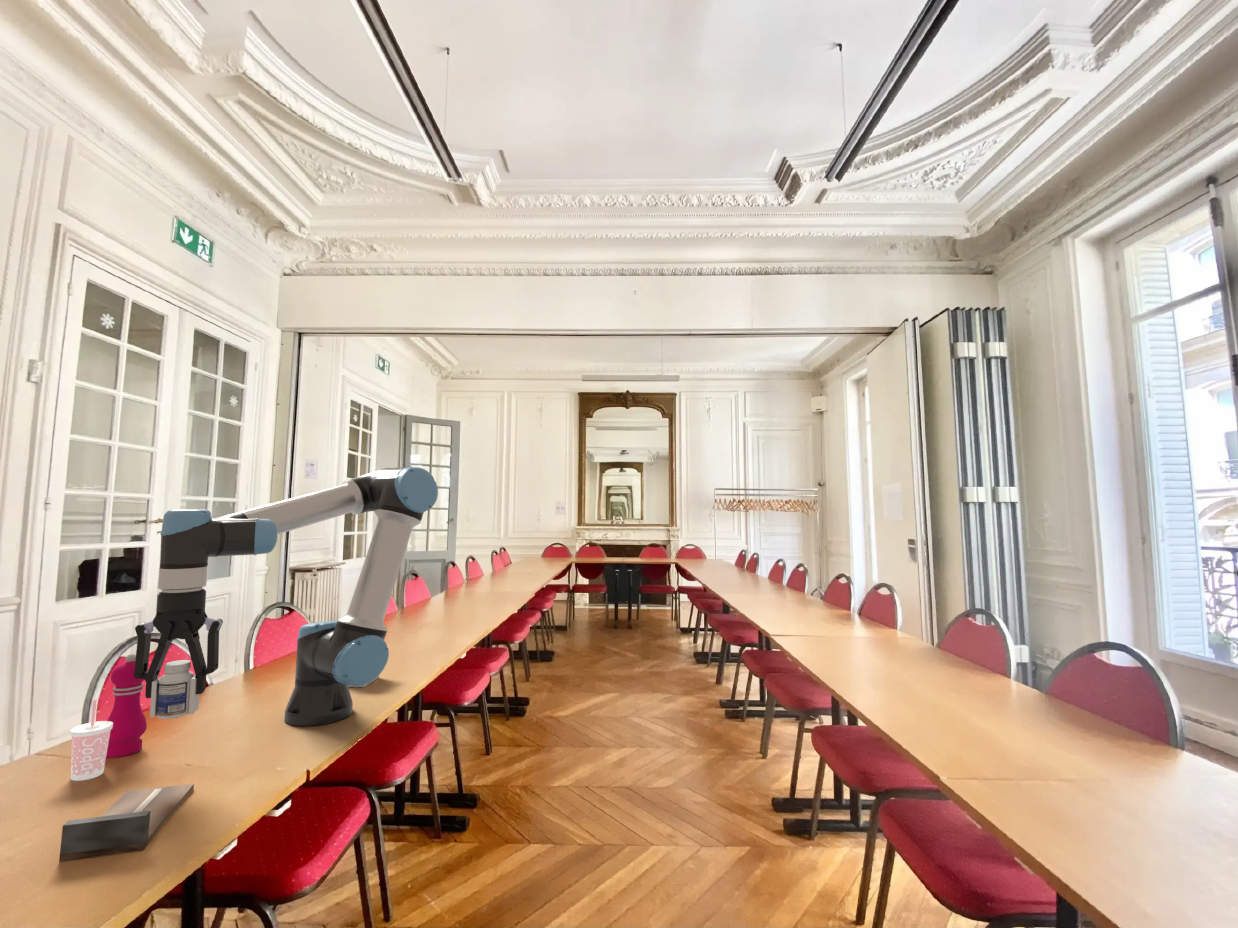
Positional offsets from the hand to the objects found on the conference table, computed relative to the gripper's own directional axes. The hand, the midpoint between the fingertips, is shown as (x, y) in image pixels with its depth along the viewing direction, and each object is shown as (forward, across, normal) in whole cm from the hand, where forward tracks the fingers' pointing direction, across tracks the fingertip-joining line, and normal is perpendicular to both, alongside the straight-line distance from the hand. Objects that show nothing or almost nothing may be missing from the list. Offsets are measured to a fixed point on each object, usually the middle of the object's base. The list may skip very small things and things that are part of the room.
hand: (174, 712), depth 109 cm
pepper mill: (+13, +15, -18) cm, 26 cm away
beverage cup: (+12, +16, -7) cm, 21 cm away
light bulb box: (+14, -27, -59) cm, 66 cm away
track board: (+12, 0, +15) cm, 20 cm away
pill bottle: (+1, 0, 0) cm, 1 cm away
